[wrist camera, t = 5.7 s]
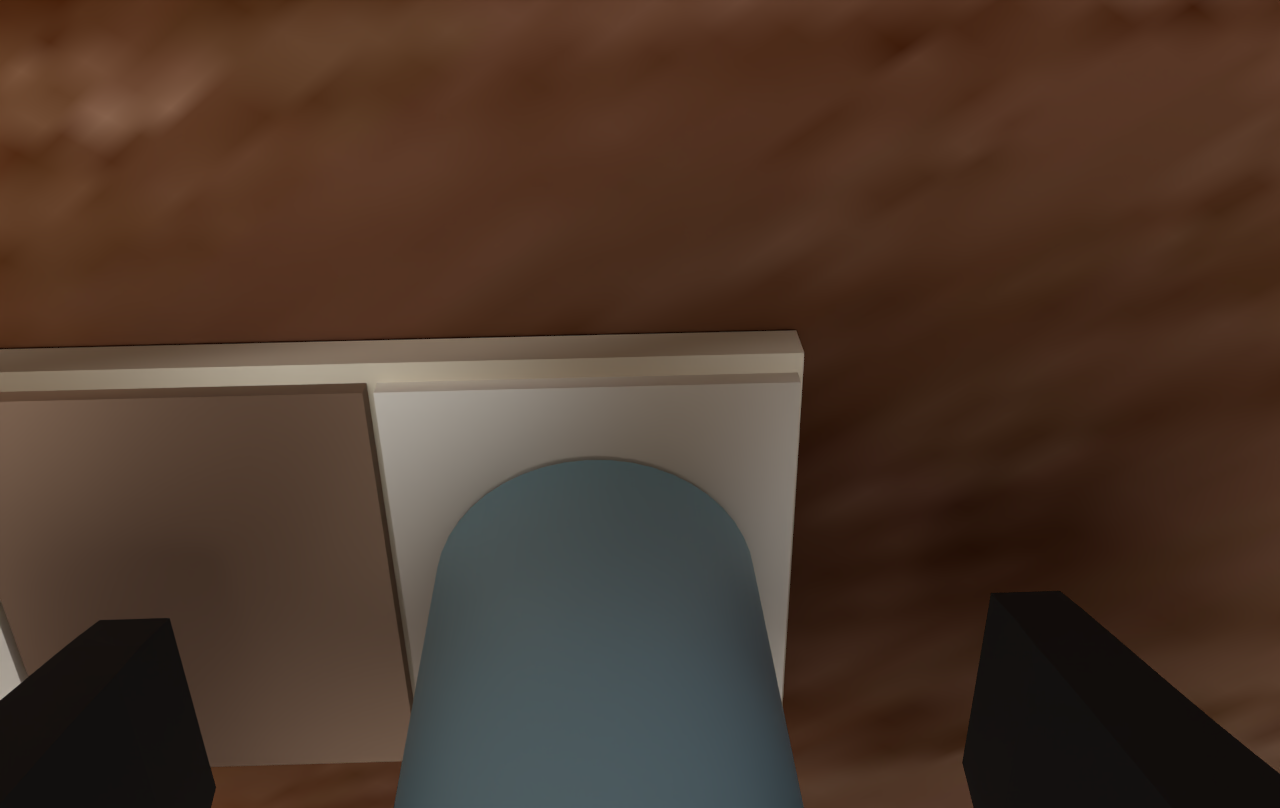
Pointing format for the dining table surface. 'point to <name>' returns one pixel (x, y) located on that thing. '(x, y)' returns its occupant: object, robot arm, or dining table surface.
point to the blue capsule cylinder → (596, 654)
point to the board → (344, 500)
